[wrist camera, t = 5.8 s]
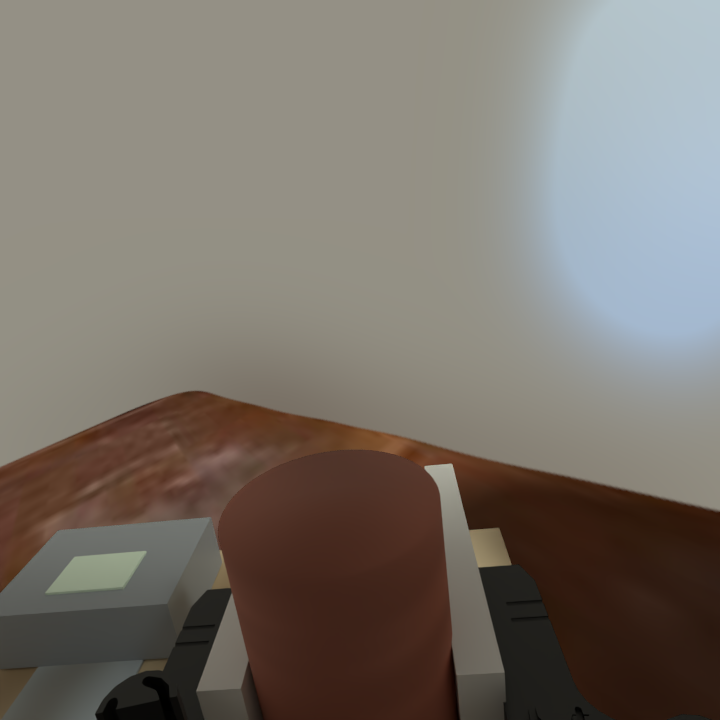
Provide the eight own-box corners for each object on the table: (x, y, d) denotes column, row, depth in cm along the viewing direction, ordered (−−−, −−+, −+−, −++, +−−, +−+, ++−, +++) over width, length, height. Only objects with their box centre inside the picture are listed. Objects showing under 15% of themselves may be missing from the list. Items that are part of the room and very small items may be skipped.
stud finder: (222, 562, 24) (210, 515, 23) (183, 657, 19) (166, 601, 18) (73, 574, 24) (57, 528, 24) (0, 669, 20) (-24, 615, 19)
